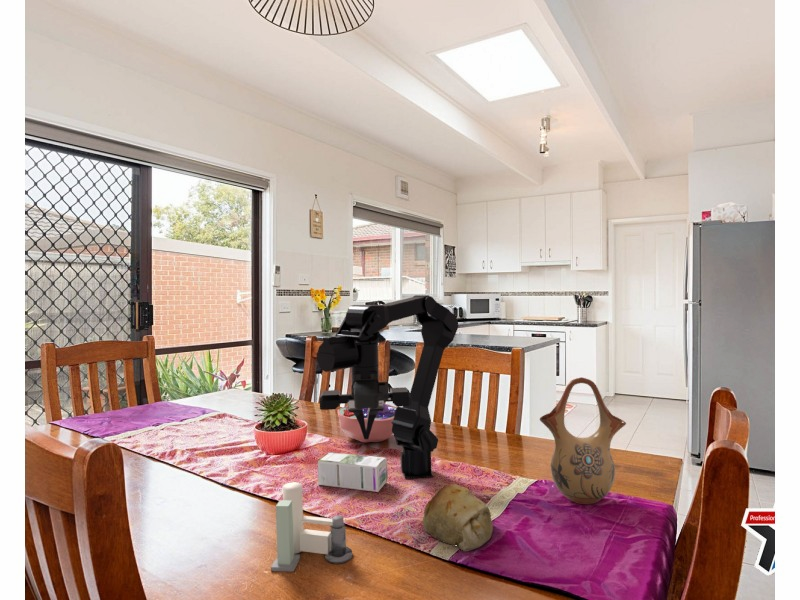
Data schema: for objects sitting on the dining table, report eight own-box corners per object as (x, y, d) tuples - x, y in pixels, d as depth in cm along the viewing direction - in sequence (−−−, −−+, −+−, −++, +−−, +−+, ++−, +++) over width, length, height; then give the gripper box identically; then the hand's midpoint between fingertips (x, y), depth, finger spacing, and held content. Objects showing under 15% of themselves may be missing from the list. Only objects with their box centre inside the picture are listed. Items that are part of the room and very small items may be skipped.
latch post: (278, 557, 80) (276, 497, 79) (300, 558, 79) (298, 498, 79) (270, 570, 76) (269, 508, 76) (293, 571, 76) (291, 508, 75)
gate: (347, 549, 81) (345, 486, 81) (340, 560, 78) (338, 495, 78) (289, 542, 84) (288, 481, 83) (280, 552, 81) (279, 489, 80)
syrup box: (317, 485, 108) (378, 494, 103) (317, 459, 107) (378, 467, 103) (329, 475, 113) (388, 482, 108) (328, 450, 113) (387, 457, 108)
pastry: (421, 513, 94) (420, 472, 94) (485, 512, 94) (485, 471, 94) (424, 554, 80) (424, 506, 80) (500, 552, 80) (499, 505, 80)
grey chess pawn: (352, 547, 82) (351, 518, 82) (352, 562, 78) (351, 532, 78) (325, 549, 82) (325, 520, 82) (324, 565, 77) (323, 534, 77)
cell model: (362, 426, 151) (361, 390, 151) (415, 437, 139) (414, 398, 139) (323, 441, 137) (322, 402, 137) (378, 455, 126) (377, 412, 125)
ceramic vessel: (541, 507, 95) (540, 381, 94) (539, 487, 104) (537, 372, 103) (631, 514, 92) (631, 383, 91) (621, 493, 101) (620, 374, 100)
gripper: (317, 373, 92) (319, 454, 93) (414, 370, 94) (415, 449, 95) (320, 364, 103) (322, 436, 104) (407, 361, 105) (408, 432, 106)
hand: (366, 438), depth 102 cm, fingers closed
